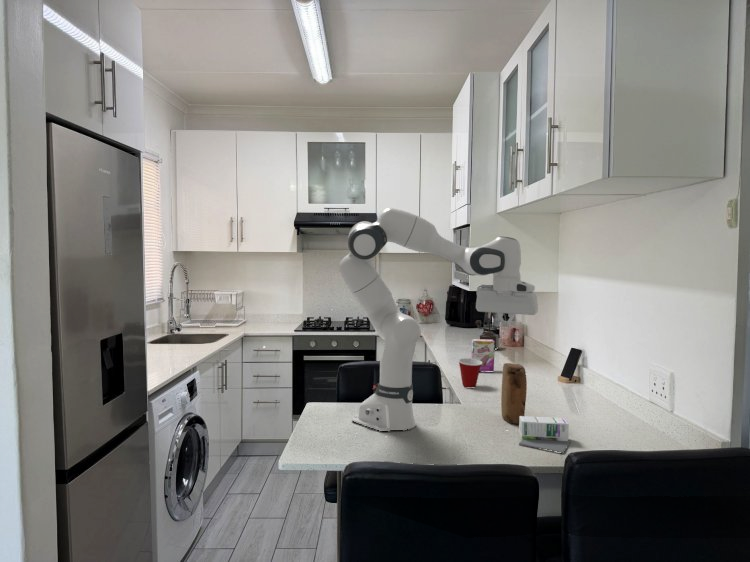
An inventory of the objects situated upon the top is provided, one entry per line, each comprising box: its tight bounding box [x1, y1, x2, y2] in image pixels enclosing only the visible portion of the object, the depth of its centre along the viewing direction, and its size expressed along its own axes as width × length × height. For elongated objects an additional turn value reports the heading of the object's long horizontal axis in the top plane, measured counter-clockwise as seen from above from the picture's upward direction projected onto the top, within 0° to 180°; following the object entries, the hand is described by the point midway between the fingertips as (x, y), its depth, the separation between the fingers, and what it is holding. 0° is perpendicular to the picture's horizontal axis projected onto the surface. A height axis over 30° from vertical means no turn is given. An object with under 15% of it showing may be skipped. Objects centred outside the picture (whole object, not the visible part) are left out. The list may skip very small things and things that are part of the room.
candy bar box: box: [470, 338, 495, 372], centre depth 253 cm, size 11×5×16 cm, turn 89°
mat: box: [518, 438, 572, 453], centre depth 154 cm, size 13×12×1 cm
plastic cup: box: [458, 357, 482, 388], centre depth 222 cm, size 11×11×12 cm
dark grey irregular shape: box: [475, 319, 500, 348], centre depth 318 cm, size 16×11×18 cm
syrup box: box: [518, 415, 569, 441], centre depth 158 cm, size 6×6×14 cm
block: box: [500, 362, 528, 425], centre depth 176 cm, size 11×8×20 cm
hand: (505, 326), depth 165 cm, fingers closed
